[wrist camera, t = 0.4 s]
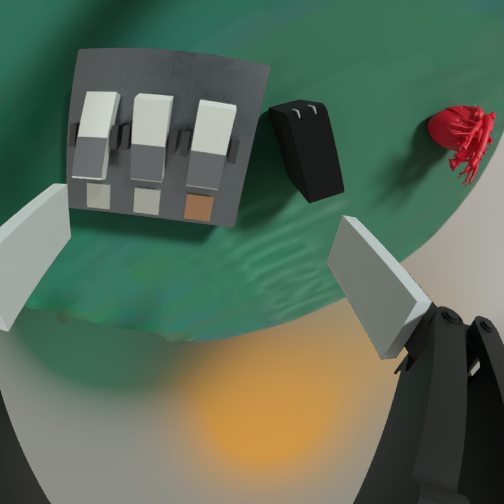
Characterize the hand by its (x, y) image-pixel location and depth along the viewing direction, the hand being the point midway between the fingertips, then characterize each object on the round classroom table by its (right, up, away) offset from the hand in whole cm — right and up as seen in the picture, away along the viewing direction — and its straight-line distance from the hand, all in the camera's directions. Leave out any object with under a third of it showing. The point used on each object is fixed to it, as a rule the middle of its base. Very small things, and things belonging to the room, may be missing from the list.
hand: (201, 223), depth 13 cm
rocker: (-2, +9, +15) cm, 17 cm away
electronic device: (+8, +13, +23) cm, 28 cm away
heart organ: (+33, +19, +24) cm, 45 cm away
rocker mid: (-8, +10, +13) cm, 18 cm away
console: (-9, +14, +20) cm, 26 cm away
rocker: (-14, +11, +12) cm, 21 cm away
